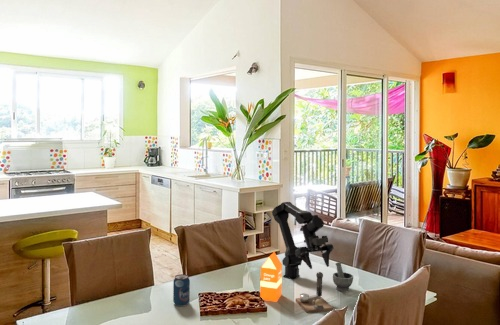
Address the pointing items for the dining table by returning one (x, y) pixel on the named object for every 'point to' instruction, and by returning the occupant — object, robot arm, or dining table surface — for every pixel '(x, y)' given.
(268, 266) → the orange juice
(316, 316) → the dining table surface
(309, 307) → the base
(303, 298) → the lever
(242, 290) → the dining table surface
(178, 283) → the soda can
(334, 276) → the mortar and pestle
